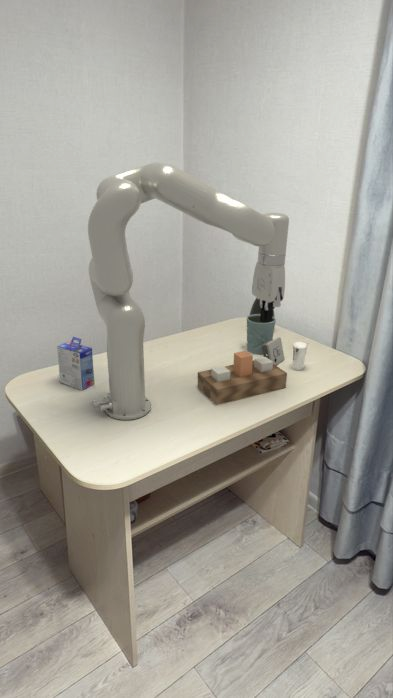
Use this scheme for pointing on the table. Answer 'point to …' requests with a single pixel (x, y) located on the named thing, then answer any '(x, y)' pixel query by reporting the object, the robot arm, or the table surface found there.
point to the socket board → (241, 384)
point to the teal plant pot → (258, 333)
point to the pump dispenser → (257, 308)
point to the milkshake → (299, 355)
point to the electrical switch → (273, 350)
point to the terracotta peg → (243, 363)
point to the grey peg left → (220, 374)
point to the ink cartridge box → (75, 364)
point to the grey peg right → (263, 364)
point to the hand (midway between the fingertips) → (265, 321)
